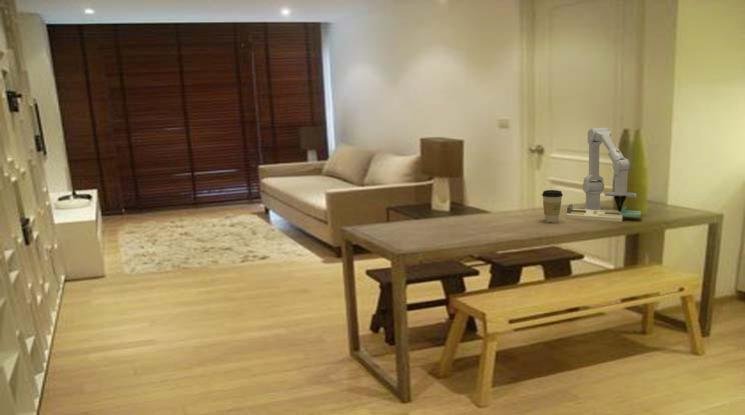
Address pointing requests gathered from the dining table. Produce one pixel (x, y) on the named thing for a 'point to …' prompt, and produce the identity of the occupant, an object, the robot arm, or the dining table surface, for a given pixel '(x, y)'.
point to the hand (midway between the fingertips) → (619, 211)
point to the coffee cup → (552, 205)
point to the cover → (630, 212)
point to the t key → (570, 209)
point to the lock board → (596, 215)
